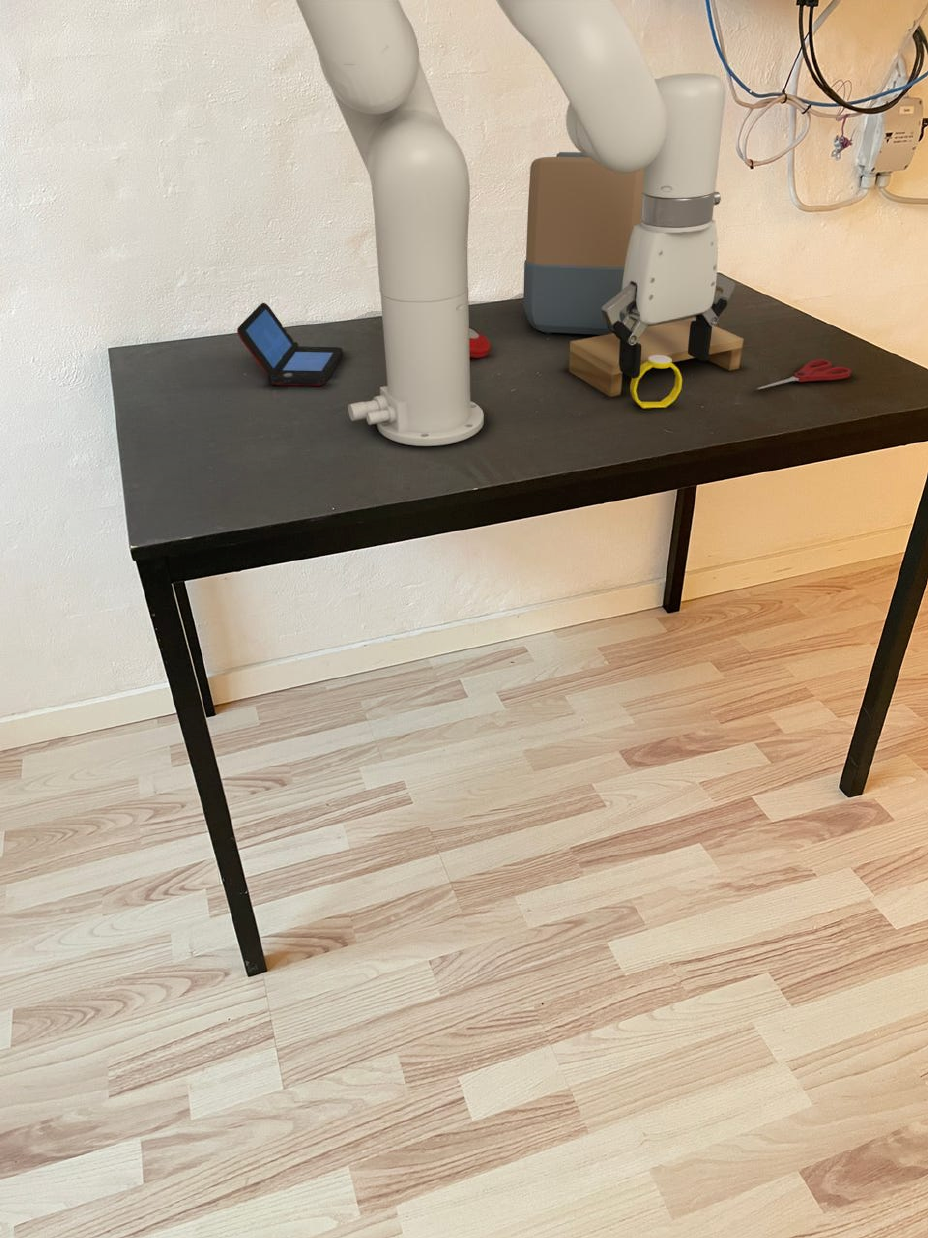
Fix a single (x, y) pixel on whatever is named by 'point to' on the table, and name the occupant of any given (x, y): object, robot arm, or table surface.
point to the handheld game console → (285, 351)
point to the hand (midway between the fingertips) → (663, 365)
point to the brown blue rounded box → (577, 241)
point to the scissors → (816, 373)
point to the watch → (657, 362)
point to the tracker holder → (478, 344)
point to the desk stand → (646, 352)
